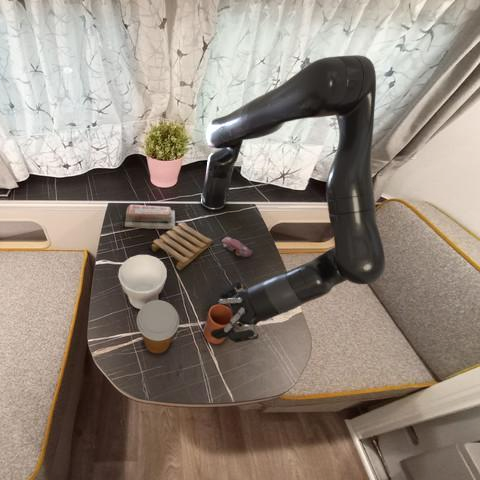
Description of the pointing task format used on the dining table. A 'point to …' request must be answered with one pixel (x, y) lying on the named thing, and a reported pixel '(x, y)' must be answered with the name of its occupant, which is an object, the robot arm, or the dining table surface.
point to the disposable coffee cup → (157, 324)
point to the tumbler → (217, 321)
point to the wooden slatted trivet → (174, 235)
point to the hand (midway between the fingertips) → (211, 323)
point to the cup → (142, 279)
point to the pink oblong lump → (236, 247)
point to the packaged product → (150, 217)
